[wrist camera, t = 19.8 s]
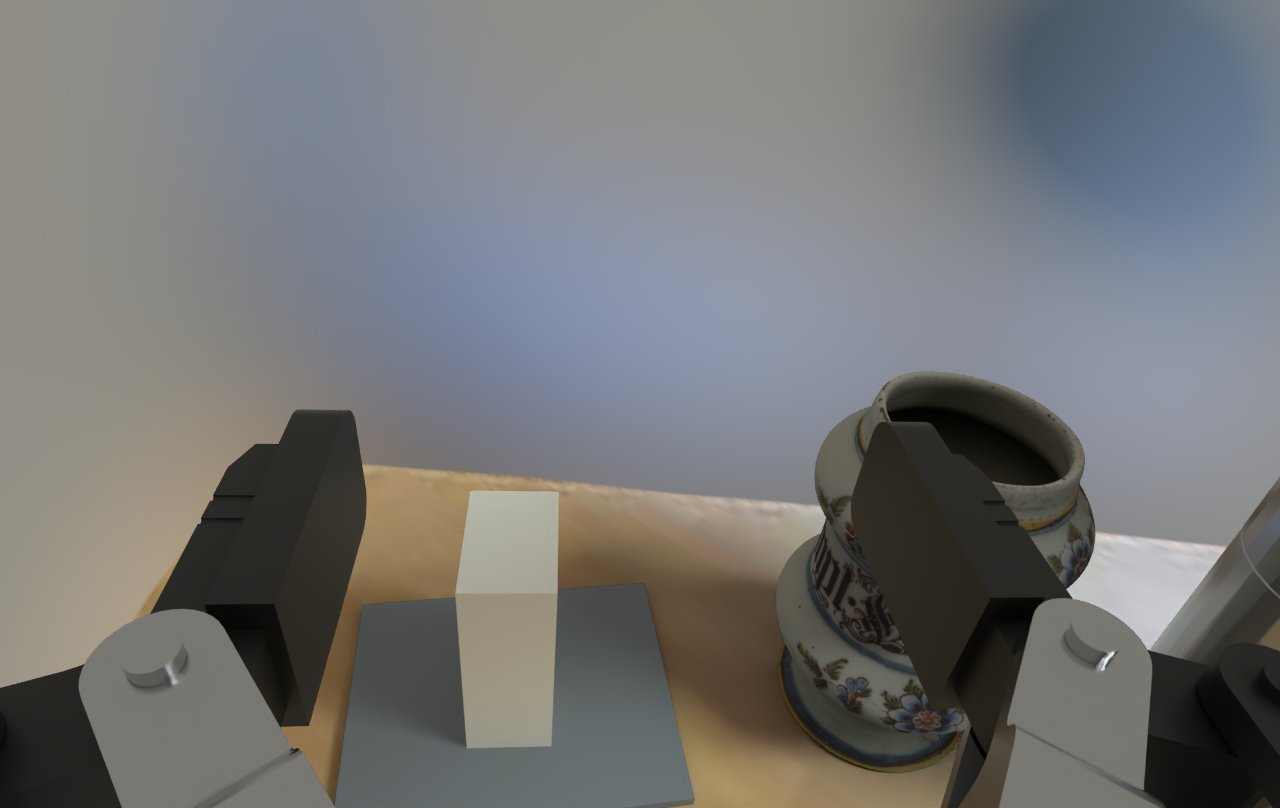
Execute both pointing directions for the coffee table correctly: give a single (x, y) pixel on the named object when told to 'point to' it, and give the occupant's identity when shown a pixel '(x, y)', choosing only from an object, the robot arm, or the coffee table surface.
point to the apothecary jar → (848, 593)
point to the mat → (513, 776)
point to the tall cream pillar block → (508, 617)
